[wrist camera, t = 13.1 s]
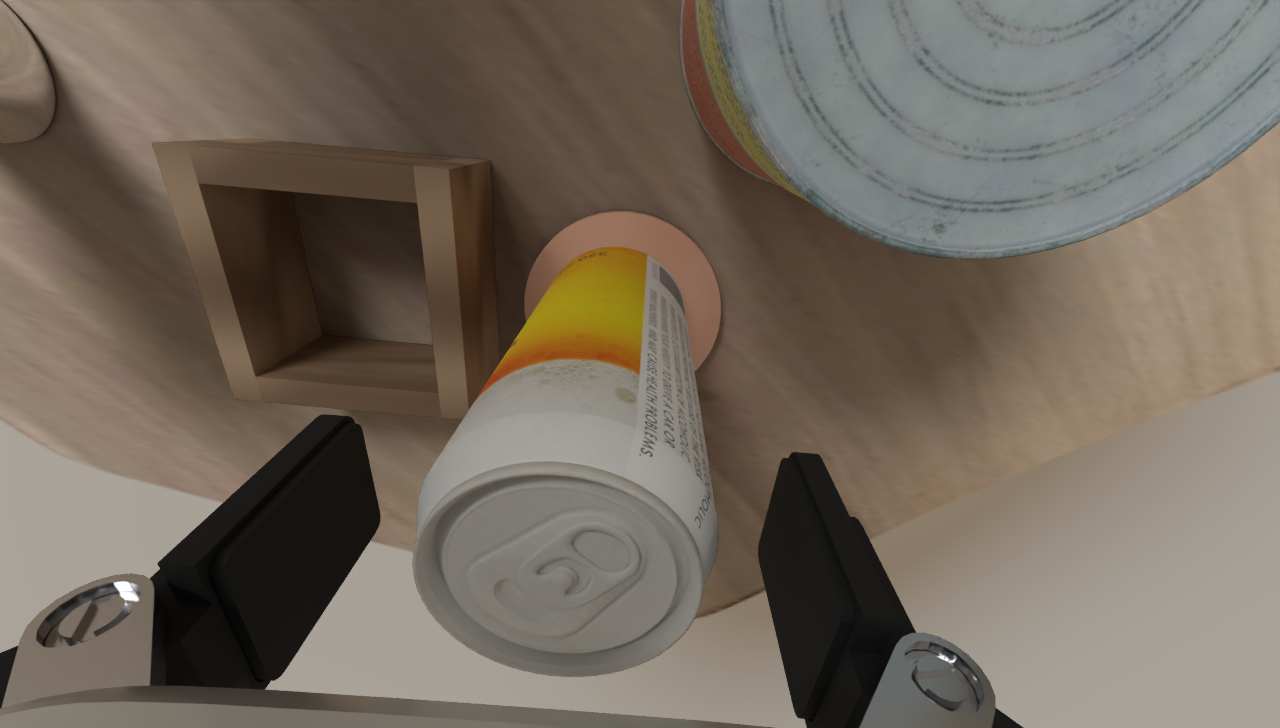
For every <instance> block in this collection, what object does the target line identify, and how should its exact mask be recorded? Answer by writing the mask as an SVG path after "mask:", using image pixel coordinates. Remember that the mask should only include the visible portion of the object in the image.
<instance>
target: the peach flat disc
mask: <svg viewBox="0 0 1280 728" xmlns="http://www.w3.org/2000/svg"><path fill="white" fill-rule="evenodd" d="M609 246H618V247H626V248H631V249H635V250H638V251H641V252H643V253H645V254H647V255H649V256H651V257H652V258H654V259H656V260H657V261H658V262H659V263H661V264H662V265H663V266H664V267H665V268H666V269H667V270H668V271H669V272H670V274H671V275H672V276H673V278H674V279H675V281H676V282H677V284H678V287H679V289H680V291H681V294H682V297H683V302H684V307H685V313H686V320H687V326H688V333H689V339H690V346H691V352H692V359H693V365H694V372H695V371H696V370H697V369H698V368H699V367H700V366H701V364H702V363H703V362H704V360H705V359H706V358H707V356H708V354H709V353H710V351H711V349H712V347H713V345H714V342H715V340H716V337H717V334H718V330H719V326H720V319H721V298H720V292H719V287H718V284H717V281H716V278H715V275H714V272H713V269H712V267H711V265H710V263H709V261H708V259H707V257H706V256H705V255H704V253H703V252H702V250H701V249H700V247H699V246H698V245H697V244H696V243H695V242H694V241H693V240H692V238H691V237H689V236H688V235H687V234H686V233H685V232H683V231H682V230H681V229H680V228H678V227H676V226H675V225H673V224H672V223H670V222H668V221H666V220H664V219H662V218H659V217H657V216H654V215H651V214H648V213H644V212H638V211H632V210H612V211H603V212H599V213H595V214H591V215H589V216H586V217H584V218H581V219H579V220H577V221H575V222H573V223H572V224H570V225H568V226H567V227H565V228H564V229H563V230H562V231H560V232H559V233H558V234H557V235H556V236H555V237H554V238H553V239H552V240H551V241H550V242H549V243H548V244H547V245H546V246H545V247H544V249H543V250H542V251H541V253H540V254H539V256H538V257H537V259H536V261H535V263H534V265H533V267H532V269H531V271H530V274H529V277H528V280H527V284H526V289H525V298H524V310H525V319H526V322H527V320H528V319H529V317H530V316H531V314H532V313H533V311H534V310H535V308H536V307H537V305H538V304H539V302H540V301H541V299H542V297H543V296H544V294H545V293H546V291H547V290H548V288H549V287H550V285H551V284H552V282H553V281H554V279H555V278H556V276H557V275H558V273H559V272H560V271H561V269H562V268H563V267H564V266H565V265H566V264H567V263H568V262H570V261H571V260H572V259H574V258H575V257H577V256H579V255H580V254H582V253H584V252H587V251H589V250H592V249H596V248H601V247H609Z"/></svg>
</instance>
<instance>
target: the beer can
mask: <svg viewBox="0 0 1280 728" xmlns="http://www.w3.org/2000/svg"><path fill="white" fill-rule="evenodd" d="M417 529H418V536H417V539H416V542H415V547H414V551H413V573H414V579H415V583H416V587H417V590H418V592H419V594H420V596H421V599H422V601H423V602H424V604H425V606H426V607H427V609H428V611H429V612H430V613H431V615H432V616H433V617H434V618H435V620H436V621H437V622H438V623H439V624H440V625H441V626H442V627H443V628H444V629H445V630H446V631H447V632H448V633H450V635H452V636H453V637H454V638H455V639H456V640H458V641H459V642H461V643H462V644H464V645H465V646H467V647H468V648H470V649H471V650H473V651H475V652H477V653H478V654H480V655H482V656H484V657H486V658H489V659H491V660H493V661H495V662H498V663H501V664H503V665H506V666H509V667H512V668H515V669H519V670H523V671H527V672H532V673H537V674H543V675H550V676H562V677H585V676H597V675H603V674H610V673H614V672H618V671H623V670H626V669H629V668H632V667H635V666H638V665H640V664H642V663H645V662H647V661H649V660H651V659H653V658H655V657H656V656H658V655H660V654H662V653H663V652H664V651H666V650H667V649H669V648H670V647H671V646H672V645H674V644H675V643H676V642H677V641H678V640H679V639H680V638H681V637H682V636H683V635H684V634H685V632H686V631H687V630H688V629H689V627H690V626H691V624H692V622H693V621H694V619H695V617H696V615H697V612H698V610H699V607H700V604H701V600H702V596H703V587H704V585H705V583H706V580H707V578H708V576H709V574H710V572H711V569H712V567H713V565H714V562H715V558H716V555H717V551H718V542H719V531H718V520H717V514H716V507H715V501H714V494H713V488H712V481H711V475H710V468H709V462H708V456H707V449H706V443H705V436H704V430H703V423H702V417H701V410H700V404H699V397H698V391H697V384H696V378H695V372H694V365H693V359H692V352H691V346H690V339H689V333H688V326H687V320H686V313H685V307H684V302H683V297H682V294H681V291H680V289H679V287H678V284H677V282H676V281H675V279H674V278H673V276H672V275H671V274H670V272H669V271H668V270H667V269H666V268H665V267H664V266H663V265H662V264H661V263H659V262H658V261H657V260H656V259H654V258H652V257H651V256H649V255H647V254H645V253H643V252H641V251H638V250H635V249H631V248H626V247H618V246H609V247H601V248H596V249H592V250H589V251H587V252H584V253H582V254H580V255H579V256H577V257H575V258H574V259H572V260H571V261H570V262H568V263H567V264H566V265H565V266H564V267H563V268H562V269H561V271H560V272H559V273H558V275H557V276H556V278H555V279H554V281H553V282H552V284H551V285H550V287H549V288H548V290H547V291H546V293H545V294H544V296H543V297H542V299H541V301H540V302H539V304H538V305H537V307H536V308H535V310H534V311H533V313H532V314H531V316H530V317H529V319H528V320H527V322H526V323H525V325H524V327H523V328H522V330H521V331H520V333H519V334H518V336H517V337H516V339H515V340H514V342H513V343H512V345H511V346H510V348H509V350H508V351H507V353H506V354H505V356H504V357H503V359H502V360H501V362H500V363H499V365H498V366H497V368H496V369H495V371H494V372H493V374H492V376H491V377H490V379H489V380H488V382H487V383H486V385H485V386H484V388H483V389H482V391H481V392H480V394H479V395H478V397H477V398H476V400H475V402H474V403H473V405H472V406H471V408H470V409H469V411H468V412H467V414H466V415H465V417H464V418H463V420H462V421H461V423H460V425H459V426H458V428H457V429H456V431H455V432H454V434H453V435H452V437H451V438H450V440H449V441H448V443H447V444H446V446H445V447H444V449H443V451H442V452H441V454H440V455H439V457H438V458H437V460H436V461H435V463H434V464H433V466H432V468H431V469H430V471H429V473H428V474H427V476H426V478H425V480H424V483H423V485H422V488H421V491H420V495H419V500H418V508H417Z"/></svg>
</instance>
